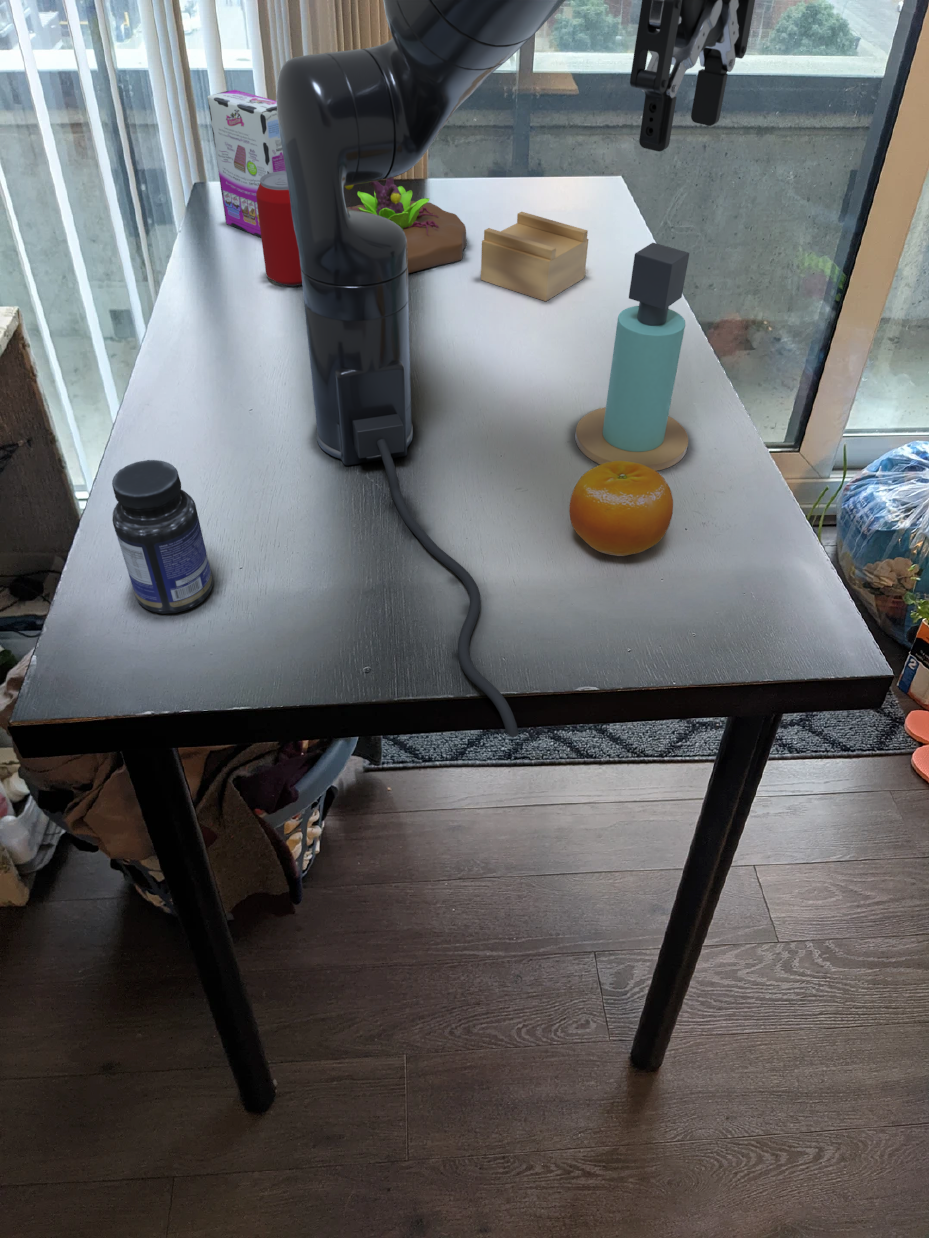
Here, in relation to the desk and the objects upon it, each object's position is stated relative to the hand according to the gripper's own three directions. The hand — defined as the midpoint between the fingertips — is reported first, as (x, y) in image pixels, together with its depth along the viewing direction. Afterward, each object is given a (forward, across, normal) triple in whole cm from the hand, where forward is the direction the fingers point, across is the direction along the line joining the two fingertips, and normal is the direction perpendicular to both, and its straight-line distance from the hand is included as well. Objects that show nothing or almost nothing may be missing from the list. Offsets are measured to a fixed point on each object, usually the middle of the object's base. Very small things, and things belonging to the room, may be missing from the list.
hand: (679, 135), depth 75 cm
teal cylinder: (+18, 0, 0) cm, 18 cm away
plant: (+28, +23, +50) cm, 62 cm away
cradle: (+28, +25, +29) cm, 48 cm away
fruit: (+28, -15, -7) cm, 33 cm away
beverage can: (+28, +6, +53) cm, 60 cm away
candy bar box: (+29, +15, +67) cm, 75 cm away
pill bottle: (+28, -43, +18) cm, 54 cm away
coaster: (+28, 0, 0) cm, 28 cm away
